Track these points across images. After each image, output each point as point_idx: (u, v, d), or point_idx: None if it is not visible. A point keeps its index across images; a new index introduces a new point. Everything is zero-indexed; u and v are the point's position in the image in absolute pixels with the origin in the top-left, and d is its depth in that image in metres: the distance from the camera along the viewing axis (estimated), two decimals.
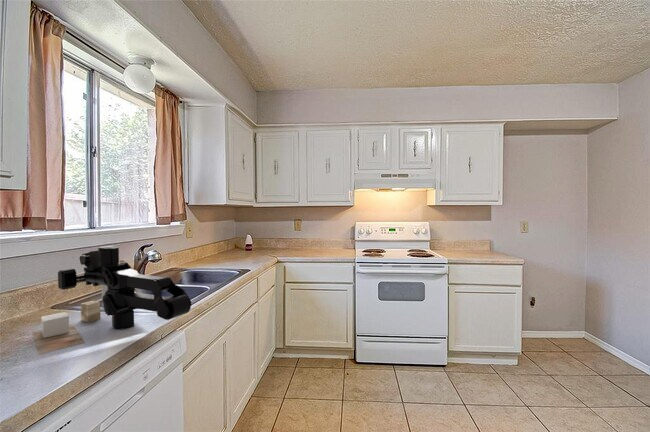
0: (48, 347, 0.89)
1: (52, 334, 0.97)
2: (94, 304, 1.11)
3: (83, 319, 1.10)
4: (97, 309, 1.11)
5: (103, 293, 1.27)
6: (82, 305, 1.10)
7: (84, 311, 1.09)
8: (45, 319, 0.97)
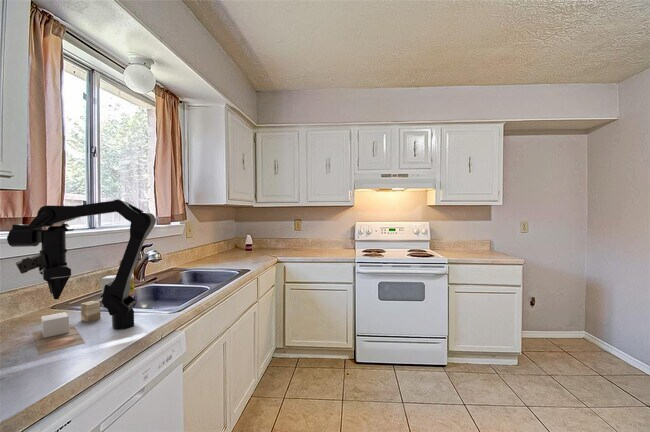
0: (48, 347, 0.89)
1: (52, 334, 0.97)
2: (94, 304, 1.11)
3: (83, 319, 1.10)
4: (97, 309, 1.11)
5: None
6: (82, 305, 1.10)
7: (84, 311, 1.09)
8: (45, 319, 0.97)
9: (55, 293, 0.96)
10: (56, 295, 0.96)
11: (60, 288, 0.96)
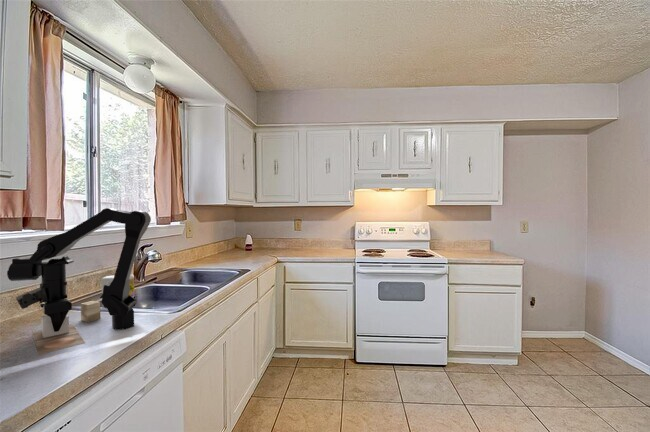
0: (48, 347, 0.89)
1: (52, 334, 0.97)
2: (94, 304, 1.11)
3: (83, 319, 1.10)
4: (97, 309, 1.11)
5: None
6: (82, 305, 1.10)
7: (84, 311, 1.09)
8: (45, 319, 0.97)
9: (55, 325, 0.97)
10: (56, 327, 0.97)
11: (60, 321, 0.97)
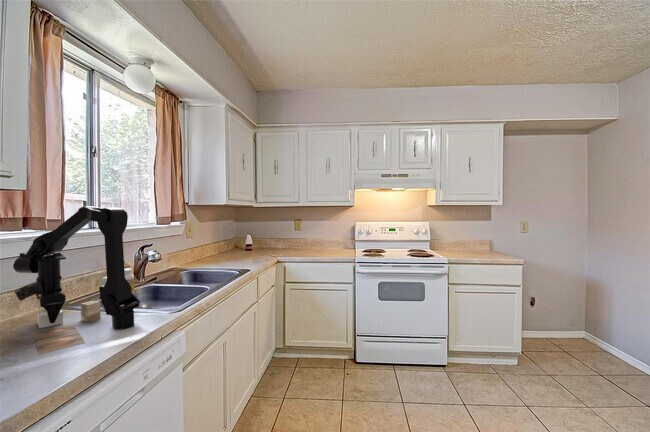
0: (48, 347, 0.89)
1: None
2: (94, 304, 1.11)
3: (83, 319, 1.10)
4: (97, 309, 1.11)
5: None
6: (82, 305, 1.10)
7: (84, 311, 1.09)
8: (41, 314, 1.05)
9: (51, 317, 1.04)
10: (52, 319, 1.04)
11: (56, 313, 1.04)
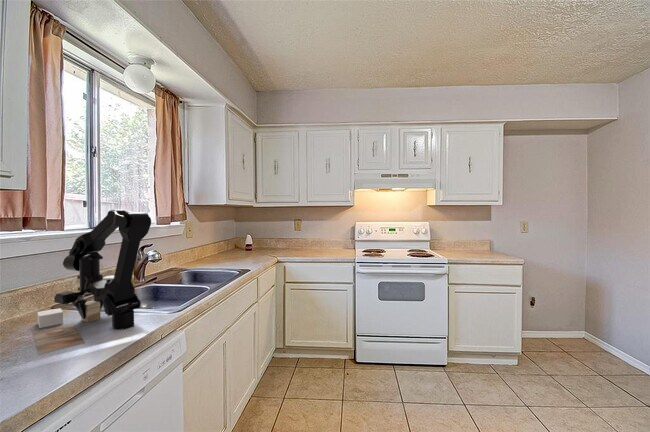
0: (48, 347, 0.89)
1: None
2: (94, 304, 1.11)
3: (83, 319, 1.10)
4: (97, 309, 1.11)
5: None
6: None
7: None
8: (41, 314, 1.05)
9: None
10: None
11: None
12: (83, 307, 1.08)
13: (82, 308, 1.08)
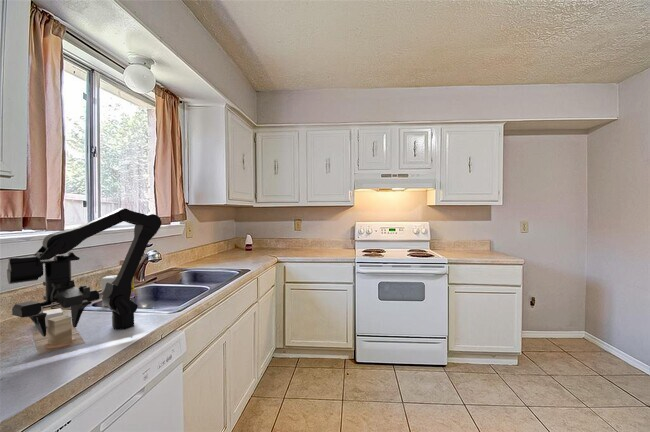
0: (48, 347, 0.89)
1: None
2: (64, 320, 0.91)
3: (50, 338, 0.90)
4: (68, 326, 0.92)
5: None
6: (49, 321, 0.90)
7: (51, 329, 0.90)
8: None
9: None
10: None
11: None
12: (42, 322, 0.87)
13: (41, 323, 0.87)
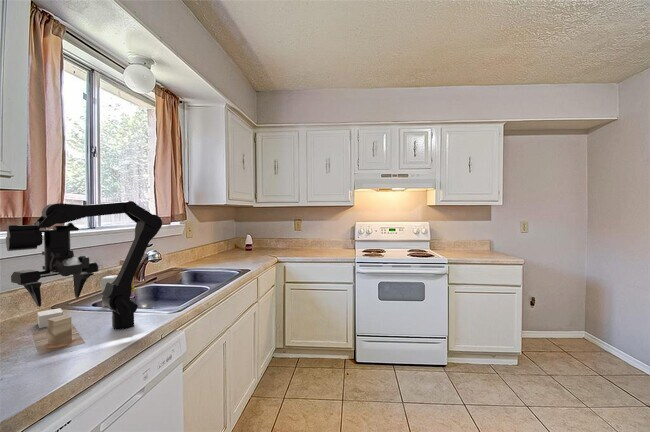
0: (48, 347, 0.89)
1: None
2: (64, 320, 0.91)
3: (50, 338, 0.90)
4: (68, 326, 0.92)
5: None
6: (49, 321, 0.90)
7: (51, 329, 0.90)
8: (41, 314, 1.05)
9: None
10: None
11: None
12: (37, 291, 0.86)
13: (36, 293, 0.86)
